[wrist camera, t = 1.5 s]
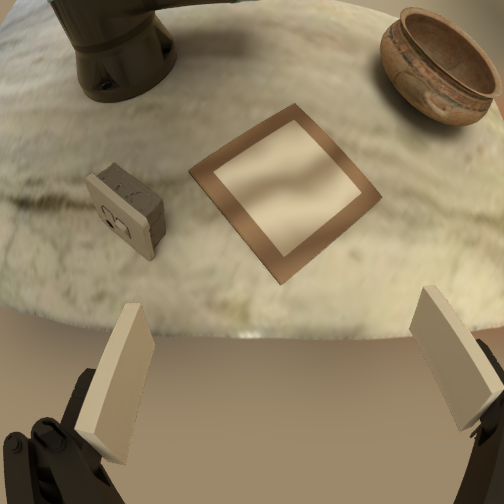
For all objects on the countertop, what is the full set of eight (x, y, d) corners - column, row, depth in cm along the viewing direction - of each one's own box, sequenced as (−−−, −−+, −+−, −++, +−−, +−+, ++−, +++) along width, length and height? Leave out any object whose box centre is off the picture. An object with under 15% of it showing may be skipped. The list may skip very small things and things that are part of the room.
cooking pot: (383, 32, 40) (406, -13, 28) (466, 86, 39) (498, 51, 27) (345, 109, 36) (378, 47, 24) (455, 181, 35) (509, 145, 23)
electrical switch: (100, 219, 31) (72, 188, 24) (126, 189, 33) (105, 152, 25) (151, 263, 31) (130, 241, 23) (178, 230, 32) (167, 199, 24)
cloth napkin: (189, 172, 33) (188, 169, 32) (294, 105, 35) (294, 102, 35) (280, 285, 31) (281, 284, 30) (380, 198, 34) (383, 197, 33)
